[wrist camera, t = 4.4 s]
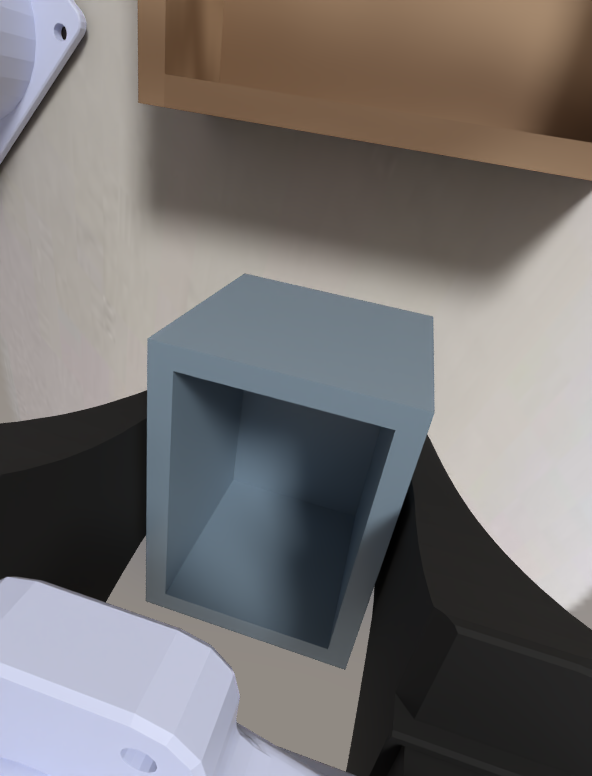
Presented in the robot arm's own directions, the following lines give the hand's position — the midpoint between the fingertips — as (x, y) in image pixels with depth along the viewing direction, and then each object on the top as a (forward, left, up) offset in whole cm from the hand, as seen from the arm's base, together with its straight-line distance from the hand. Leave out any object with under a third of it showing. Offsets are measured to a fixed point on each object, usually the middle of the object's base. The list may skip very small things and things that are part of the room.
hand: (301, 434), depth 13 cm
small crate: (0, 0, -2) cm, 2 cm away
